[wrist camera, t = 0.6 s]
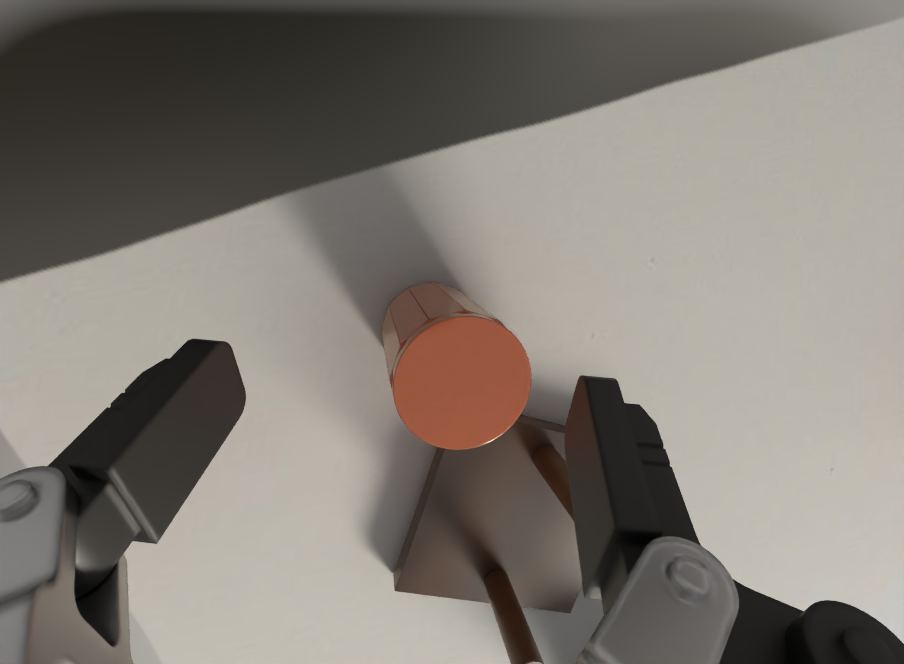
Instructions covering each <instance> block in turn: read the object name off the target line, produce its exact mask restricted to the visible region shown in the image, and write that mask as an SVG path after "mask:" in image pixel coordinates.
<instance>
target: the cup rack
mask: <svg viewBox="0 0 904 664" xmlns="http://www.w3.org/2000/svg"><path fill="white" fill-rule="evenodd" d="M565 428H566V426H563V425H559V424H555V423H551V422H547V421H543V420H539V419H535V418H531V417H527V416H523V415H520V416H519V417H518V418H517V420H516V421H515V422H514V424H513V425H512V426H511V427H510V428H509V429H508V430H507V431H505V432H504V433H503V434H502V435H500V436H499V437H497V438H496V439H494V440H492V441H490V442H488V443H486V444H484V445H481V446H478V447H474V448H469V449H460V450H456V449H445V448H440V447H438V448H437V451H436V454H435V457H434V459H433V462H432V465H431V468H430V471H429V474H428V477H427V480H426V483H425V485H424V488H423V491H422V494H421V497H420V500H419V503H418V506H417V508H416V511H415V514H414V517H413V520H412V523H411V526H410V529H409V532H408V534H407V537H406V540H405V543H404V546H403V549H402V552H401V555H400V557H399V560H398V563H397V566H396V569H395V572H394V575H393V576H394V587H395V591H399V592H407V593H415V594H422V595H430V596H438V597H446V598H454V599H462V600H470V601H477V602H485V603H491V605H492V608H493V611H494V614H495V617H496V620H497V623H498V626H499V629H500V632H501V635H502V638H503V641H504V644H505V647H506V650H507V653H508V656H509V659H510V662H511V664H544V663H543V660H542V658H541V655H540V653H539V650H538V648H537V645H536V643H535V641H534V638H533V636H532V633H531V631H530V628H529V626H528V623H527V621H526V618H525V616H524V614H523V611H522V609H521V607H525V608H533V609H540V610H548V611H556V612H564V613H570V612H571V610H572V608H573V605H574V603H575V601H576V598H577V596H578V594H579V592H580V589H581V587H582V577H581V569H580V562H579V554H578V547H577V539H576V531H575V524H574V516H573V509H572V501H571V493H570V486H569V478H568V471H567V463H566V455H565V443H564V441H565Z"/></svg>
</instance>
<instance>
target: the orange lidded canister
mask: <svg viewBox="0 0 904 664" xmlns="http://www.w3.org/2000/svg"><path fill="white" fill-rule="evenodd" d="M381 332H382V338H383V344H384V350H385V356H386V362H387V368H388V374H389V380H390V384H391V388H392V392H393V397H394V402H395V406H396V409H397V412H398V414H399V416H400V418H401V419H402V421H403V422H404V424H405V425H406V427H407V428H408V429H409V430H410V431H411V432H412V433H413V434H415V435H416V436H417V437H418V438H420V439H421V440H423V441H425V442H427V443H429V444H431V445H433V446H437V447H440V448H445V449H456V450H460V449H469V448H474V447H478V446H481V445H484V444H486V443H488V442H490V441H492V440H494V439H496V438H497V437H499V436H500V435H502V434H503V433H504V432H505V431H507V430H508V429H509V428H510V427H511V426H512V425H513V424H514V422H515V421H516V420H517V418H518V417H519V416H520V414H521V412H522V411H523V409H524V407H525V404H526V402H527V399H528V396H529V392H530V387H531V368H530V363H529V359H528V357H527V354H526V351H525V350H524V348H523V346H522V344H521V343H520V341H519V340H518V339H517V337H516V336H515V335H514V334H513V333H512V332H511V331H509V330H508V329H507V328H506V327H505V326H504V325H503V324H502V323H501V321H499V320H498V319H497V318H495V317H494V316H493V315H491V314H490V313H489V312H487V311H486V310H485V309H483V308H482V307H480V306H479V305H478V304H476V303H475V302H474V301H472V300H471V299H470V298H468V297H467V296H465V295H464V294H463V293H461V292H460V291H459V290H457V289H455V288H452V287H449V286H446V285H442V284H439V283H436V282H429V283H425V284H420V285H416V286H411V287H408V288H406V289H405V290H404V291H403V292H402V293H401V294H400V295H399V296H398V297H397V298H396V299H395V300H393V301H392V302H391V303H390V304H389V306H388V308H387V312H386V315H385V318H384V321H383V325H382V328H381Z"/></svg>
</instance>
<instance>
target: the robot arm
mask: <svg viewBox="0 0 904 664" xmlns="http://www.w3.org/2000/svg"><path fill="white" fill-rule="evenodd" d="M245 401H246V393H245V388H244V385H243V382H242V379H241V375H240V372H239V369H238V366H237V363H236V360H235V356H234V353H233V350H232V348H231V346H230V345H229V344H228V343H227V342H224V341H213V340H202V339H191V340H188V341H187V342H186V343H185V344H184V345H183V346H182V347H181V348H180V349H179V350H178V351H177V352H176V353H175V354H174V355H173V356H172V357H171V358H170V359H164V360H163V361H161V362H159V363H158V364H156V365H154V366H153V367H151V368H149V369H147V370H146V371H144V372H142V373H141V374H140V375H139V376H138V377H137V378H136V379H135V380H134V381H133V382H132V383H131V384H130V385H129V386H128V387H127V388H126V389H125V393H121V394H120V395H119V396H118V397H117V398H116V399H115V400H114V401H113V402H112V403H111V407H110V408H106V409H105V410H104V411H103V412H102V413H101V414H100V415H99V416H98V417H97V418H96V419H95V420H94V421H93V422H92V423H91V424H90V425H89V426H88V427H87V428H86V429H85V430H84V431H83V432H82V433H81V434H80V435H79V436H78V437H77V438H76V439H75V440H74V441H73V442H72V443H71V444H70V445H69V446H68V447H67V448H66V449H65V450H64V451H63V452H62V453H61V454H60V455H59V456H58V457H57V458H56V459H55V460H54V461H53V462H52V463H50V464H49V465H48V466H39V467H32V468H27V469H23V470H20V471H17V472H14V473H12V474H9V475H7V476H5V477H3V478H1V479H0V664H133V661H132V657H131V651H130V630H129V602H128V573H127V560H126V558H125V556H124V552H125V551H126V549H127V548H128V547H129V545H130V544H131V542H132V541H138V542H146V543H154V544H157V543H158V541H159V540H160V538H161V537H162V535H163V534H164V532H165V531H166V529H167V528H168V526H169V524H170V523H171V521H172V520H173V518H174V517H175V515H176V514H177V512H178V511H179V509H180V508H181V506H182V505H183V503H184V502H185V500H186V499H187V497H188V496H189V494H190V493H191V491H192V489H193V488H194V486H195V485H196V483H197V482H198V480H199V479H200V477H201V476H202V474H203V473H204V471H205V470H206V468H207V467H208V465H209V464H210V462H211V461H212V459H213V458H214V456H215V455H216V453H217V451H218V450H219V448H220V447H221V445H222V444H223V442H224V441H225V439H226V438H227V436H228V435H229V433H230V432H231V430H232V429H233V427H234V426H235V424H236V423H237V421H238V420H239V418H240V416H241V415H242V412H243V410H244V406H245ZM564 443H565V455H566V463H567V471H568V478H569V486H570V493H571V501H572V509H573V516H574V524H575V531H576V539H577V547H578V554H579V562H580V569H581V577H582V585H583V592H584V598H591V599H600V600H602V604H603V610H604V617H603V618H602V620H601V622H600V623H599V625H598V627H597V628H596V630H595V632H594V633H593V635H592V637H591V638H590V640H589V642H588V643H587V645H586V647H585V648H584V650H583V651H582V652H581V653H580V655H579V657H578V658H577V660H576V661H575V663H574V664H904V644H903V643H902V642H901V641H900V640H899V639H898V638H897V637H896V636H895V635H894V634H893V633H892V632H891V631H890V630H889V629H888V628H887V627H885V626H884V625H883V624H882V623H880V622H879V621H878V620H876V619H875V618H873V617H872V616H870V615H868V614H867V613H865V612H863V611H861V610H859V609H858V608H856V607H853V606H851V605H848V604H845V603H841V602H837V601H829V600H826V601H819V602H816V603H814V604H812V605H811V606H810V607H808V608H807V609H806V610H805V611H802V610H799V609H797V608H794V607H792V606H790V605H787V604H785V603H782V602H780V601H778V600H775V599H773V598H771V597H768V596H766V595H763V594H761V593H759V592H756V591H754V590H752V589H750V588H747V587H745V586H743V585H742V584H740V583H738V582H737V581H735V580H734V579H732V578H731V576H730V574H729V573H728V571H727V570H726V568H725V567H724V566H723V565H722V563H721V562H720V561H719V560H718V559H717V558H716V557H715V556H714V555H713V554H711V553H710V552H709V551H707V550H706V549H705V548H703V547H702V546H701V544H700V543H699V541H698V538H697V536H696V533H695V531H694V528H693V525H692V522H691V520H690V517H689V514H688V511H687V508H686V506H685V503H684V500H683V497H682V495H681V492H680V489H679V486H678V483H677V481H676V478H675V475H674V472H673V470H672V467H670V461H669V459H668V456H667V453H666V450H665V449H663V442H662V439H661V436H660V434H659V431H658V428H657V425H656V423H655V422H654V421H653V420H652V419H651V417H650V416H649V415H648V414H647V413H646V412H645V410H644V409H643V408H642V407H641V406H640V405H638V404H627V403H624V401H623V397H622V394H621V391H620V387H619V384H618V382H617V380H616V379H614V378H603V377H592V376H580V377H579V379H578V381H577V385H576V389H575V392H574V396H573V400H572V404H571V407H570V411H569V415H568V418H567V422H566V428H565V441H564Z"/></svg>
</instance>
